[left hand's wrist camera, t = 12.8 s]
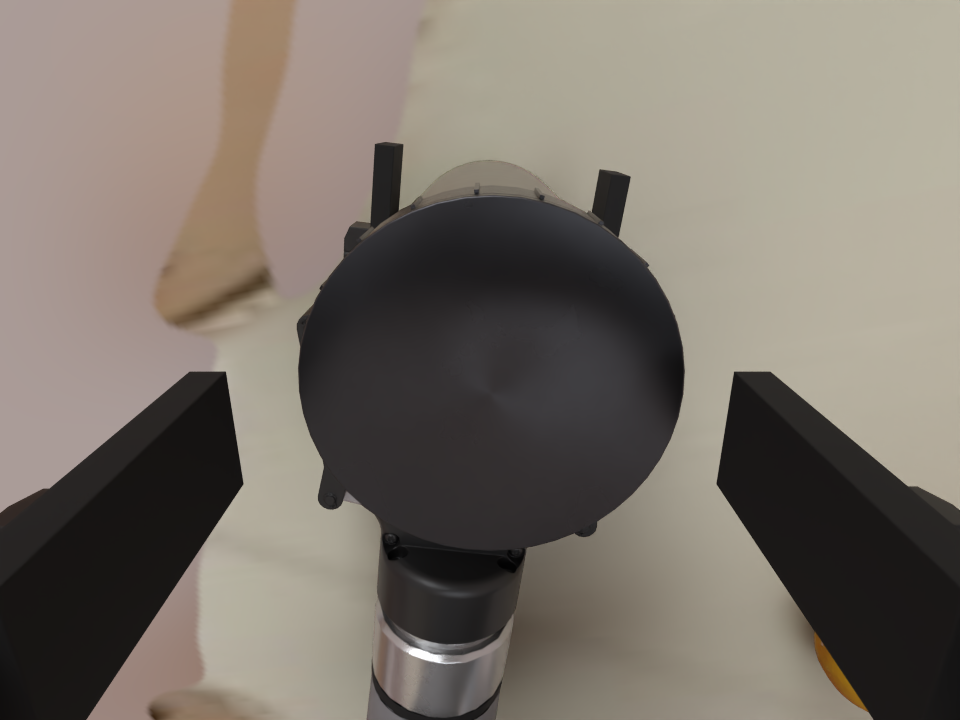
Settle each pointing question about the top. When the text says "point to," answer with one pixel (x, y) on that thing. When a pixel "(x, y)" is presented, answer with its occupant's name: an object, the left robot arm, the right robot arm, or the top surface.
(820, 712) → the top surface
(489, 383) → the lid
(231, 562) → the top surface
